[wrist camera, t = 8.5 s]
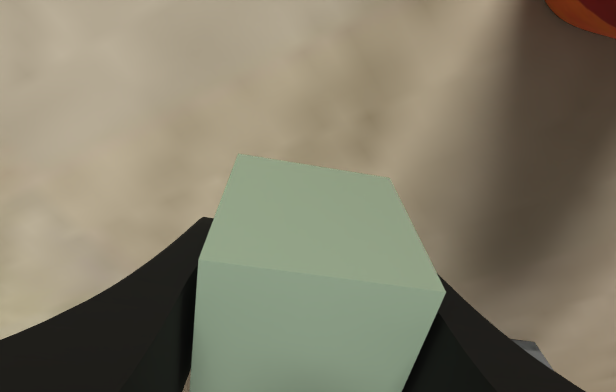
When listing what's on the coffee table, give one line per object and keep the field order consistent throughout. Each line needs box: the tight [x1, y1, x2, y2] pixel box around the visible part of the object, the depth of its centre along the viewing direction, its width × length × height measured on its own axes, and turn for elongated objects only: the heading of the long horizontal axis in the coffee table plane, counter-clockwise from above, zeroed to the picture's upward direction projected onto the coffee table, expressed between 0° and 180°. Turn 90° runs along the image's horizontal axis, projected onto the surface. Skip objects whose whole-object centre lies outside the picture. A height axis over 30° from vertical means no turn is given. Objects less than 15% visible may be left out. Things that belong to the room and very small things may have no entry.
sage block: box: [190, 154, 446, 392], centre depth 10 cm, size 4×4×5 cm
